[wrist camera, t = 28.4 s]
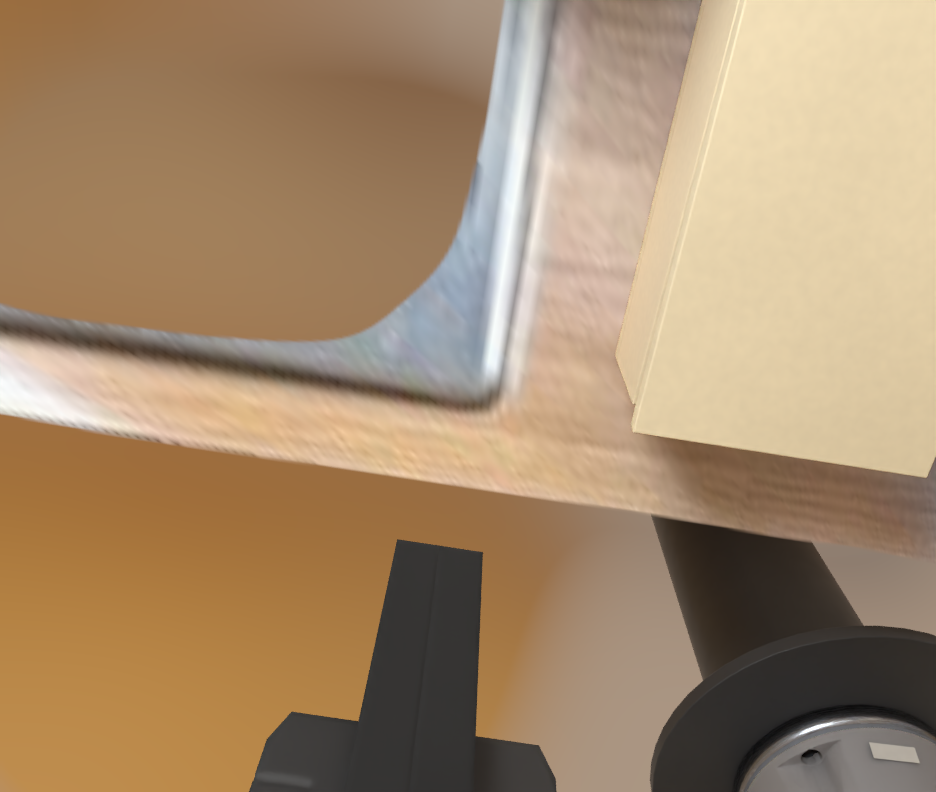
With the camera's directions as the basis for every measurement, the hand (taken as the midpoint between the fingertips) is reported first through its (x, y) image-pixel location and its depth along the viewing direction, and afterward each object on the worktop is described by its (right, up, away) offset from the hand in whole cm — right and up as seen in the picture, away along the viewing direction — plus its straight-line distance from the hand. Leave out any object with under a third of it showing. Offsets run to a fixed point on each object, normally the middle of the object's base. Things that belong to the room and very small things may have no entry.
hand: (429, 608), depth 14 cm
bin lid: (+16, +11, +18) cm, 27 cm away
